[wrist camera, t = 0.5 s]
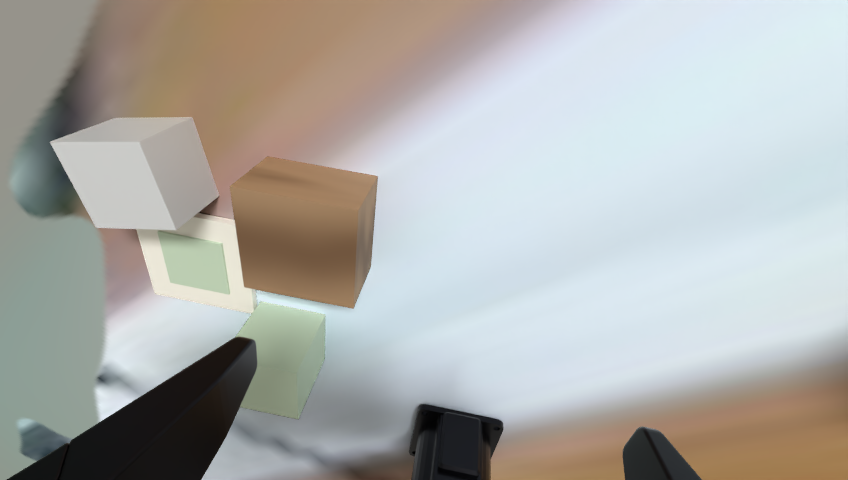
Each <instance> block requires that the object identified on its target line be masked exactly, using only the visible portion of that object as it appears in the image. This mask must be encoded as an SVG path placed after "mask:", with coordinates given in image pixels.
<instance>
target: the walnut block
mask: <svg viewBox="0 0 848 480" xmlns="http://www.w3.org/2000/svg"><path fill="white" fill-rule="evenodd" d="M377 179H378V176H374V175H368V174H363V173H357V172H352V171H346V170H340V169H335V168H329V167H324V166H318V165H313V164H307V163H302V162H296V161H290V160H285V159H279V158H274V157H266V158H265V159H264V160H263V161H261V162H260V163H259V164H258V165H256V166H255V167H254V168H253V169H251V170H250V171H249V172H247V173H246V174H245V175H244V176H242V177H241V178H240V179H239V180H237V181H236V182H235V183H234V184H232V185H231V186H230V191H231V198H232V205H233V213H234V220H235V227H236V234H237V241H238V248H239V255H240V262H241V269H242V276H243V283H244V287H245V288H250V289H256V290H261V291H266V292H271V293H276V294H281V295H286V296H292V297H297V298H302V299H307V300H312V301H317V302H323V303H328V304H333V305H338V306H343V307H348V308H354V306H355V303H356V301H357V299H358V296H359V294H360V291H361V289H362V286H363V284H364V282H365V279H366V277H367V274H368V272H369V270H370V267H371V257H372V244H373V231H374V218H375V205H376V192H377Z"/></svg>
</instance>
